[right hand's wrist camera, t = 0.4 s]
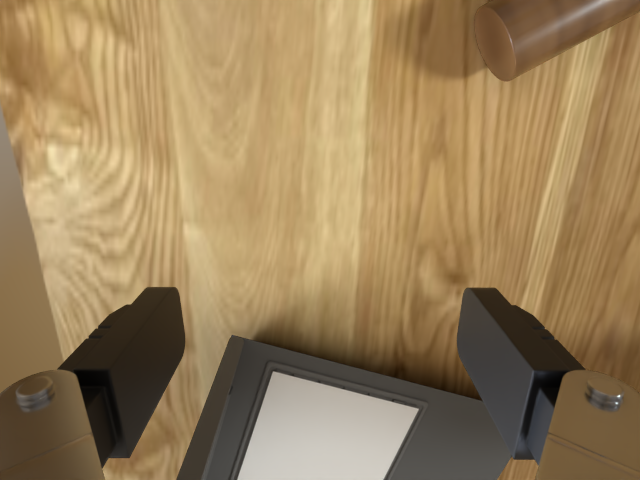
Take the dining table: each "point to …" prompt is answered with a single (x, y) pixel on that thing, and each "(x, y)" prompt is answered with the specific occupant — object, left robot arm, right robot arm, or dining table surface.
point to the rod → (540, 29)
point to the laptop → (334, 424)
